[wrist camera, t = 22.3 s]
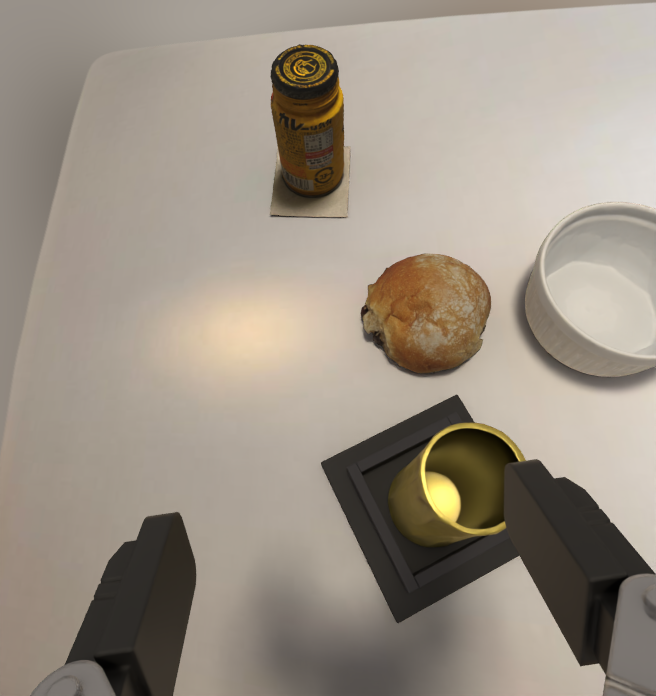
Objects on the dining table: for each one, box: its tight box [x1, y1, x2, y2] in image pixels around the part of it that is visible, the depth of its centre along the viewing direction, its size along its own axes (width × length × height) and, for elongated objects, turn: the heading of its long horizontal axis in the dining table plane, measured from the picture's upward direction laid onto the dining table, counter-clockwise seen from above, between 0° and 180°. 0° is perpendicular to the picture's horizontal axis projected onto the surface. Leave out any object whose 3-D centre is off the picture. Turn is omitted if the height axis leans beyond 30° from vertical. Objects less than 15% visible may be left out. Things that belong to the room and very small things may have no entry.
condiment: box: [270, 44, 350, 218], centre depth 44 cm, size 7×8×12 cm
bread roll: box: [361, 254, 491, 373], centre depth 41 cm, size 10×10×8 cm
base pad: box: [321, 395, 519, 623], centre depth 37 cm, size 12×12×3 cm
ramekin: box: [525, 202, 656, 377], centre depth 40 cm, size 13×13×7 cm
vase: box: [388, 423, 526, 547], centre depth 30 cm, size 6×6×14 cm
